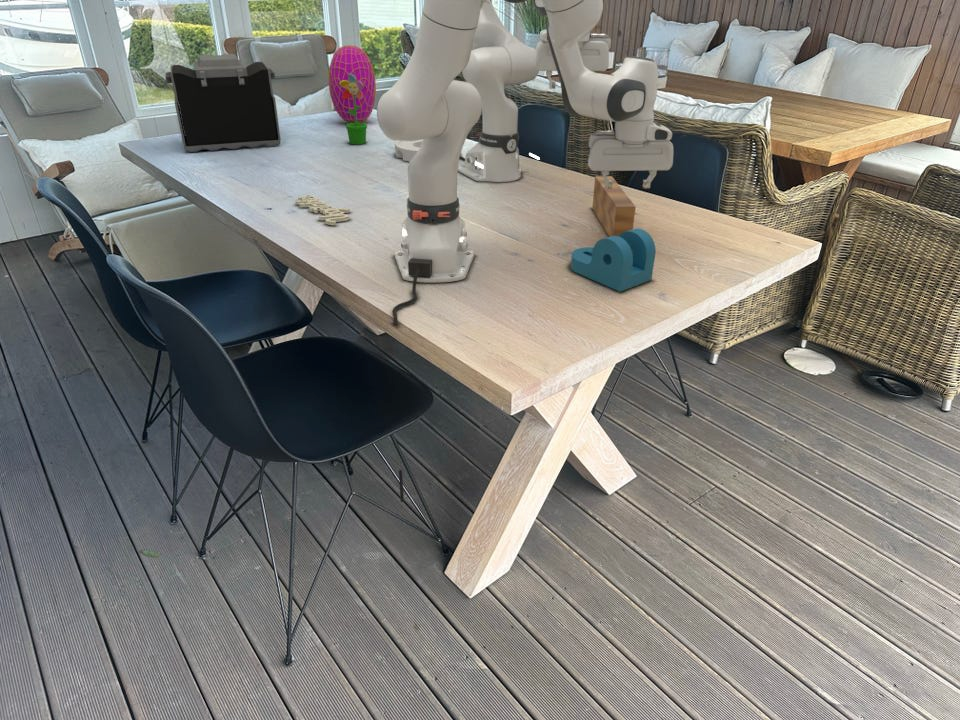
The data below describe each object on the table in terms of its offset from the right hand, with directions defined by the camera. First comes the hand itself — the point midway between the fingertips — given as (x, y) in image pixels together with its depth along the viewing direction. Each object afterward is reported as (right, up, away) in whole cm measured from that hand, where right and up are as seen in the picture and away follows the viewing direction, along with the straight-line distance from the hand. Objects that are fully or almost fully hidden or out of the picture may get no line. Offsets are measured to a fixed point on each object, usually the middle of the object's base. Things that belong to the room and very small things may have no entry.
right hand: (569, 88), depth 189 cm
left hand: (+12, -32, -20) cm, 40 cm away
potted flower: (-71, +8, +72) cm, 102 cm away
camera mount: (+4, -55, -33) cm, 64 cm away
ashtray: (-43, -1, +58) cm, 72 cm away
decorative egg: (-78, +26, +104) cm, 133 cm away
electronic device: (-118, +7, +70) cm, 138 cm away
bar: (+11, -38, -4) cm, 40 cm away
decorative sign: (-68, -33, +3) cm, 76 cm away
